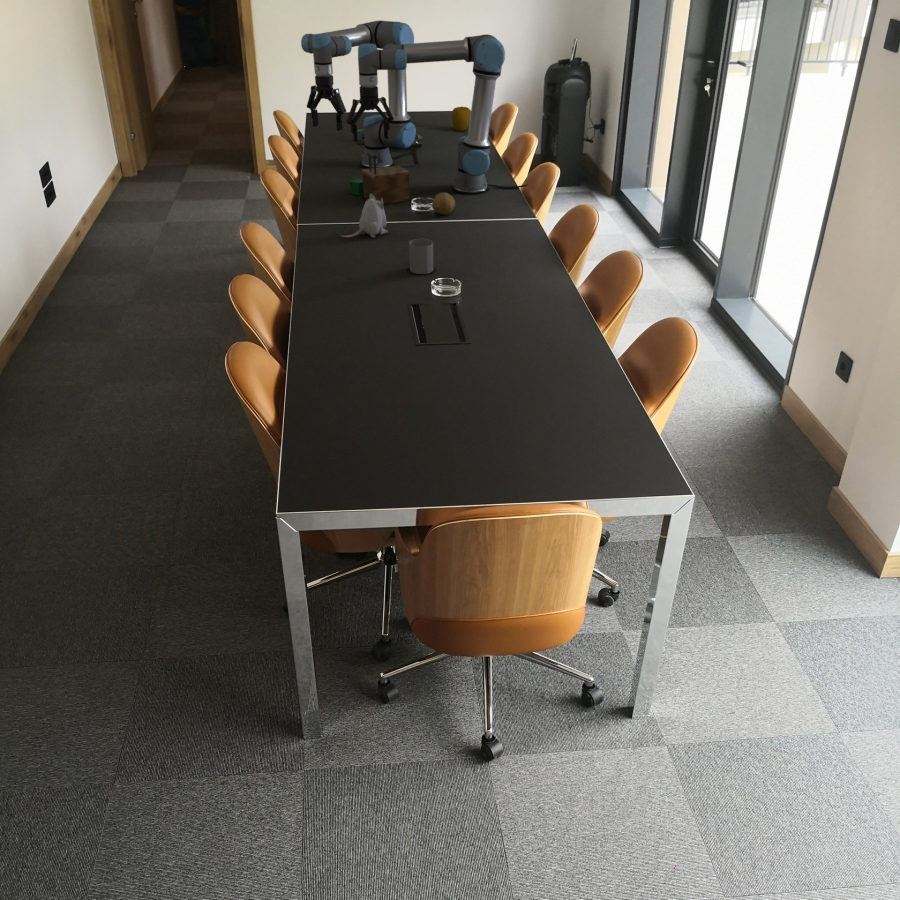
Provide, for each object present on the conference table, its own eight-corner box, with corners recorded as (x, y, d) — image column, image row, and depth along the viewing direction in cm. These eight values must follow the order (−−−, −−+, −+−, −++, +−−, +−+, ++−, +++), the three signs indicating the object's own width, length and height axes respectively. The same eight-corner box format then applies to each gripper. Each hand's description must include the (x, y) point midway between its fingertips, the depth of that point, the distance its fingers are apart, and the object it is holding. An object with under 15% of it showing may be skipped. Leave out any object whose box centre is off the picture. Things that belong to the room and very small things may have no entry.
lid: (371, 179, 366) (370, 157, 362) (361, 172, 376) (360, 150, 371) (409, 174, 373) (408, 152, 368) (398, 167, 382) (398, 146, 377)
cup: (409, 265, 311) (408, 238, 306) (432, 265, 312) (431, 238, 307) (410, 274, 304) (409, 246, 299) (433, 273, 305) (433, 246, 299)
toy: (393, 232, 342) (392, 194, 333) (348, 247, 327) (345, 208, 319) (378, 227, 347) (376, 190, 339) (332, 242, 332) (330, 203, 324)
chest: (373, 205, 373) (372, 178, 367) (364, 197, 382) (362, 171, 376) (409, 200, 379) (409, 174, 373) (399, 193, 388) (398, 167, 382)
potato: (453, 208, 369) (453, 189, 365) (456, 218, 357) (456, 199, 353) (431, 208, 368) (430, 189, 364) (432, 218, 356) (432, 199, 352)
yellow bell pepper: (471, 132, 486) (471, 108, 479) (451, 132, 486) (451, 108, 479) (470, 128, 495) (471, 104, 488) (452, 128, 495) (452, 104, 488)
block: (359, 195, 385) (358, 183, 382) (350, 193, 388) (349, 180, 385) (367, 192, 388) (367, 180, 385) (359, 190, 391) (358, 178, 388)
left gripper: (295, 73, 364) (300, 125, 376) (340, 79, 352) (344, 133, 364) (307, 70, 369) (311, 122, 381) (352, 76, 358) (355, 130, 369)
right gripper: (342, 89, 346) (345, 144, 357) (400, 85, 354) (401, 138, 366) (336, 86, 351) (339, 140, 363) (393, 82, 360) (395, 135, 372)
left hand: (327, 128), depth 372 cm, fingers open, 13 cm apart
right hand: (370, 139), depth 364 cm, fingers open, 13 cm apart
